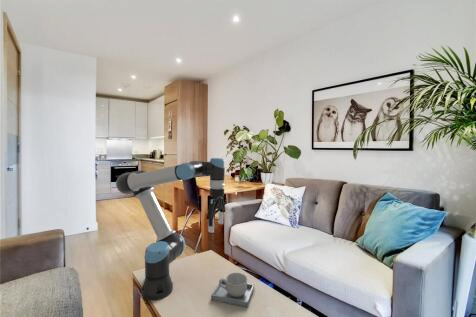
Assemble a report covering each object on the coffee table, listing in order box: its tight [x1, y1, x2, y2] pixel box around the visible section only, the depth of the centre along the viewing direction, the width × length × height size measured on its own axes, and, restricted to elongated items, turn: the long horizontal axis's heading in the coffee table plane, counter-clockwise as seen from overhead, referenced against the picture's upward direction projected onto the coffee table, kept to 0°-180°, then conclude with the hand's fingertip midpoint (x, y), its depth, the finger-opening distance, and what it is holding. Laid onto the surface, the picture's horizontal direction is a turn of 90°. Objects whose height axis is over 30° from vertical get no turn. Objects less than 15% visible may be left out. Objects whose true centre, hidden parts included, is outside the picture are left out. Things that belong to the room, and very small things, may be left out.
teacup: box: [218, 272, 248, 297], centre depth 120 cm, size 14×11×8 cm
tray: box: [210, 281, 255, 308], centre depth 120 cm, size 18×15×2 cm
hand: (216, 227), depth 126 cm, fingers open, 13 cm apart
